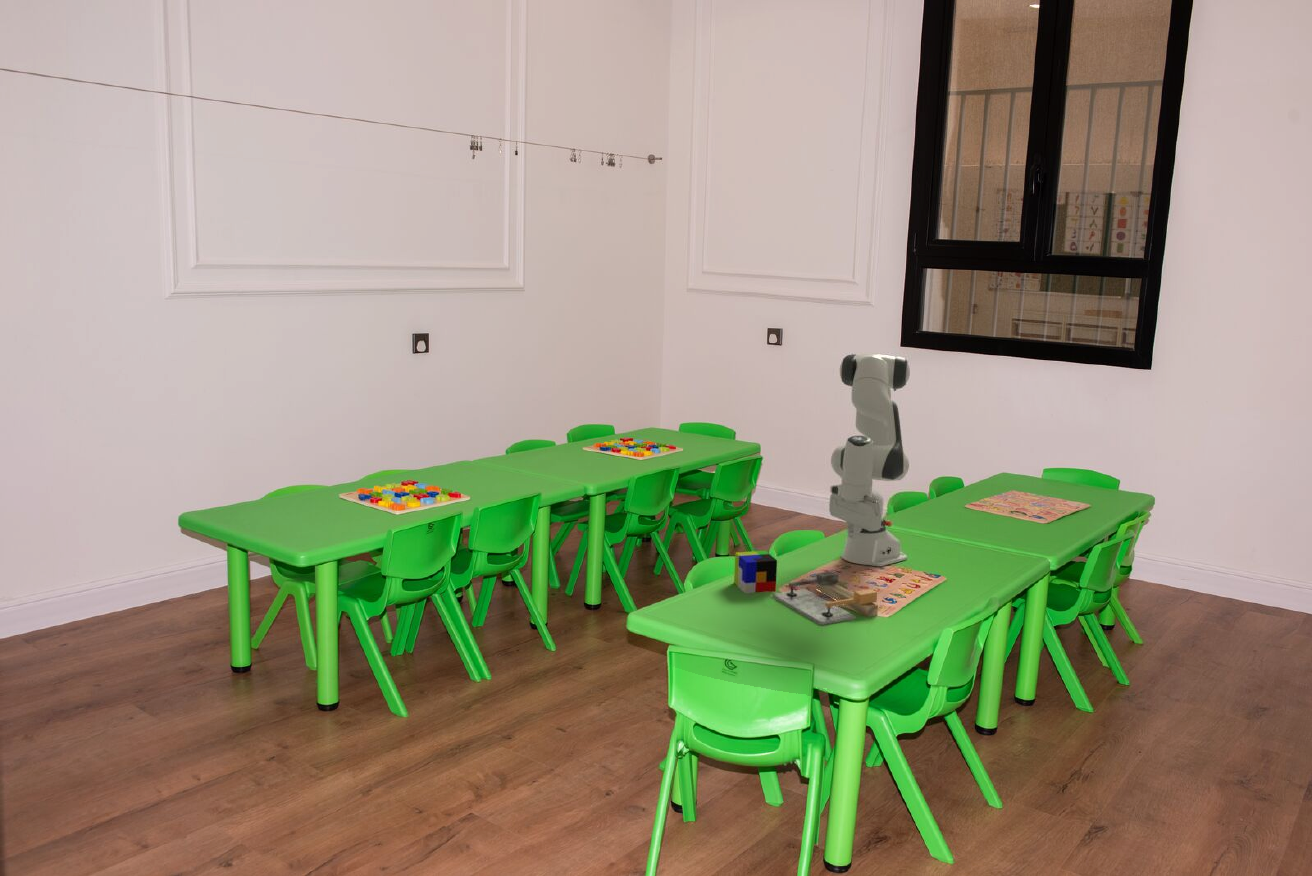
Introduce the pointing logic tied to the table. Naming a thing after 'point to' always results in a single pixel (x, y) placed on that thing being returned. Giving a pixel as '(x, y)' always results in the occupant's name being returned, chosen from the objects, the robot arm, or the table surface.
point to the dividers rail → (837, 592)
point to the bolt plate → (813, 607)
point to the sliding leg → (856, 599)
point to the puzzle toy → (755, 572)
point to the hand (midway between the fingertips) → (853, 538)
